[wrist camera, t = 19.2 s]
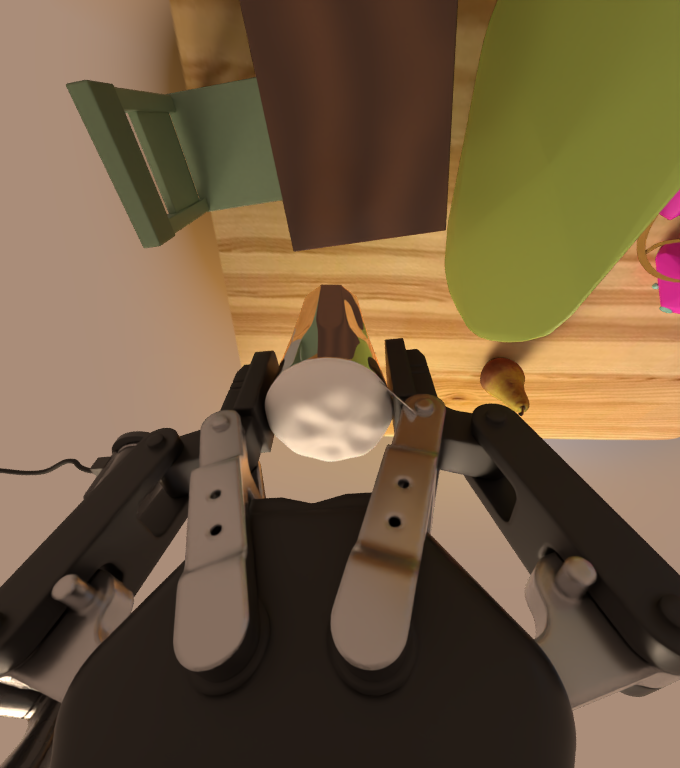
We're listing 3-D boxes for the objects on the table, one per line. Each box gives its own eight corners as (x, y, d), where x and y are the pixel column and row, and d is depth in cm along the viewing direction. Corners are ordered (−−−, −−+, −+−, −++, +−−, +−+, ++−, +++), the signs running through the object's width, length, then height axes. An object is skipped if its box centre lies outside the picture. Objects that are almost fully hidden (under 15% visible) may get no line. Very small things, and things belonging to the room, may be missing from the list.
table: (306, 217, 36) (293, 251, 27) (273, 35, 28) (237, -9, 18) (418, 201, 35) (446, 230, 26) (419, 5, 27) (461, -57, 17)
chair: (220, 199, 35) (143, 248, 22) (189, 100, 30) (64, 83, 17) (300, 186, 34) (272, 229, 21) (281, 82, 30) (228, 51, 16)
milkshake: (401, 312, 18) (449, 457, 11) (323, 359, 20) (315, 511, 13) (355, 242, 16) (374, 360, 8) (272, 302, 18) (222, 445, 10)
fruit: (472, 384, 50) (502, 445, 41) (477, 352, 47) (511, 411, 37) (511, 381, 50) (550, 442, 40) (519, 348, 46) (564, 406, 37)
